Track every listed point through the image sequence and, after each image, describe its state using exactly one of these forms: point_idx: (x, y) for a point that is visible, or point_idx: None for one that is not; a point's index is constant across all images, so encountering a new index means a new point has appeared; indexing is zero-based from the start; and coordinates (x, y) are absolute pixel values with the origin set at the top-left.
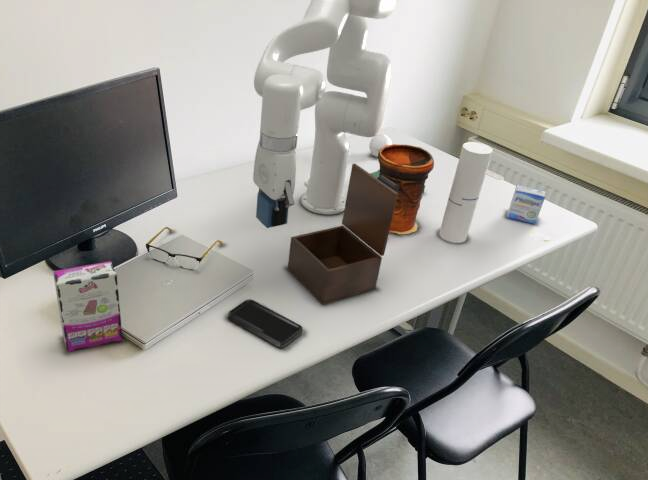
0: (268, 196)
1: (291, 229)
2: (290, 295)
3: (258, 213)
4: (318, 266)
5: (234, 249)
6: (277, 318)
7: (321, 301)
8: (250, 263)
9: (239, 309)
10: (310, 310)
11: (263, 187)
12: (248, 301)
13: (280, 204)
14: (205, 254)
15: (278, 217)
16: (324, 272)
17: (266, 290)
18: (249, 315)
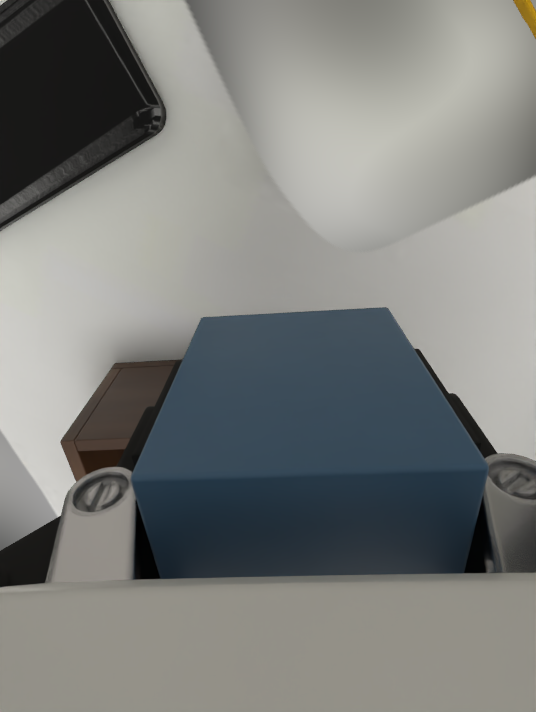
0: (324, 541)
1: (515, 453)
2: (181, 294)
3: (360, 332)
4: (130, 428)
5: (529, 229)
6: (27, 179)
7: (122, 364)
8: (411, 247)
9: (104, 40)
10: (91, 316)
11: (287, 701)
12: (151, 111)
13: (31, 580)
14: (528, 18)
15: (128, 442)
16: (89, 429)
17: (231, 229)
18: (56, 69)
